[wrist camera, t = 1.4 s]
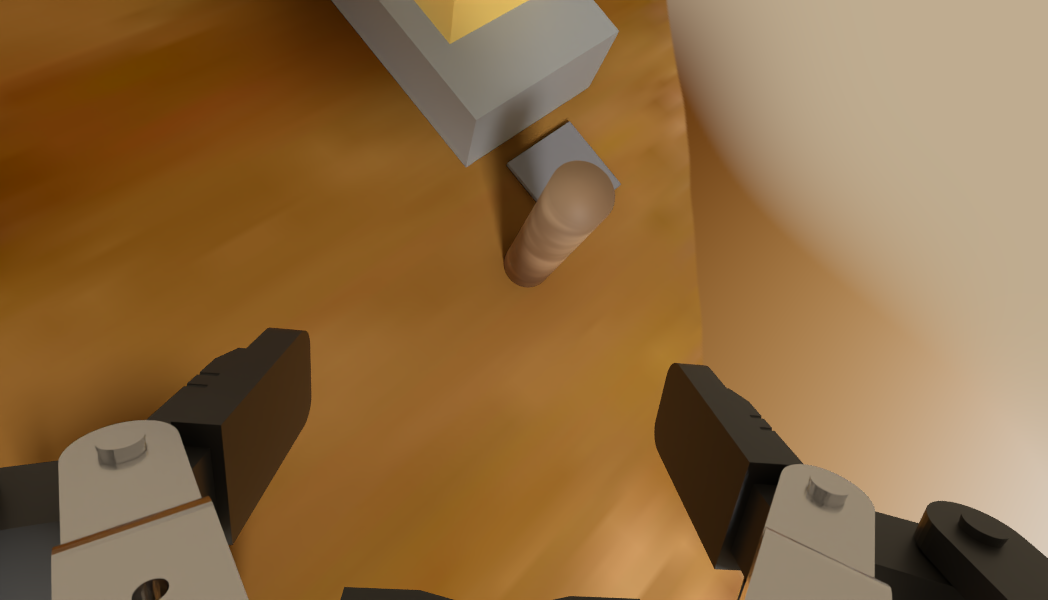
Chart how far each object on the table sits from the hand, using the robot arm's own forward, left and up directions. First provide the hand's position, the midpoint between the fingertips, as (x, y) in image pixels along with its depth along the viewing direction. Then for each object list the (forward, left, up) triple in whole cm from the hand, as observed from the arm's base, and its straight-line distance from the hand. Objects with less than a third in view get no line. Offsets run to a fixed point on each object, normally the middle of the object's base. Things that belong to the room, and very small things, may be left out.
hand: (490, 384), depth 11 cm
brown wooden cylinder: (-4, +10, -21) cm, 24 cm away
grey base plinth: (-21, +17, -21) cm, 34 cm away
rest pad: (-7, +17, -21) cm, 28 cm away
